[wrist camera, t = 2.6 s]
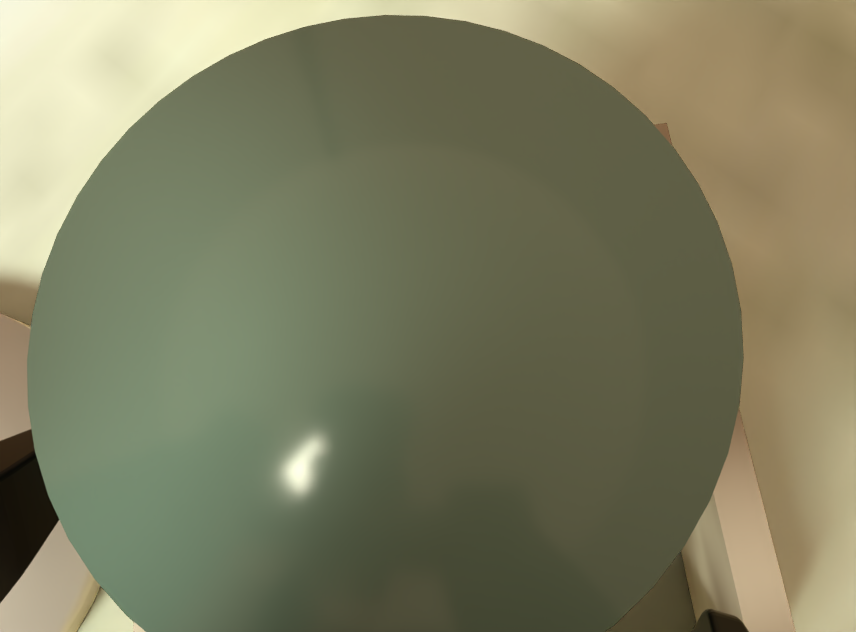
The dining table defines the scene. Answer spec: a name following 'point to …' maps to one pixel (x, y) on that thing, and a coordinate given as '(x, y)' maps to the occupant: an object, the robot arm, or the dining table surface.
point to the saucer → (57, 559)
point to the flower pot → (385, 343)
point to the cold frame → (733, 545)
